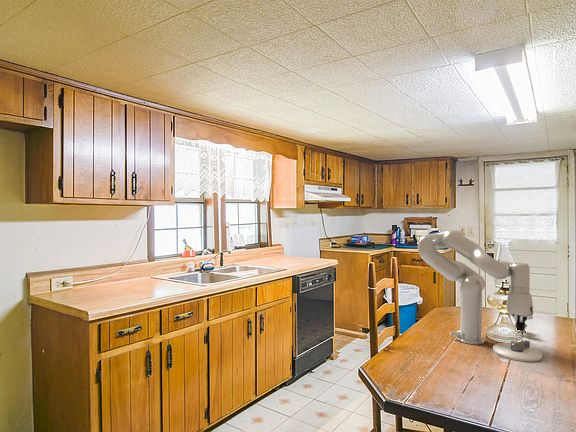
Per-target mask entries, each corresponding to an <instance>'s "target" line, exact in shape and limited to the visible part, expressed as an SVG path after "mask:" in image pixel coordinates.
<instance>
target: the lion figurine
mask: <svg viewBox="0 0 576 432" xmlns="http://www.w3.org/2000/svg"><path fill="white" fill-rule="evenodd" d="M514 327H516V322H515V324H514ZM527 327H528V324H526V323H525V328H524V330H521V331H520V334H521V333H522V335H523V336H522V337H525V336H524V333H526V329H527ZM516 328H517V327H516ZM516 328H515V329H516Z"/></svg>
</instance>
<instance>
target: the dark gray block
mask: <svg viewBox="0 0 576 432" xmlns="http://www.w3.org/2000/svg"><path fill="white" fill-rule="evenodd" d="M510 343H511V350H513V351H516V352H523V349H527V348H530V347H531V346H530V345H531V341H530V340H526V339H525V340H522V341H513V340H512V341H510Z"/></svg>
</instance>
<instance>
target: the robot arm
mask: <svg viewBox="0 0 576 432" xmlns="http://www.w3.org/2000/svg"><path fill="white" fill-rule="evenodd" d="M445 248H446V249H447V248H449V249H451V250H453V251H454V252H456V253H457V254H459V255H461V256H462V257H464V258H466V259H467V260H469V261H470V262H471V263H472V264H473V265H475V266H476V267H477V268H479V269H480V270H481V271H483V272H484V273H486V274H488V275H489V276H491V277H492V278H494V279H495V280H496V279H497V280H505V279H507V277H509V278H510V285H508V289H509V290H510V291H509V292H508V295H507V300H506V311H507V312H508V315H509V316H512V317H513V318H514V321H515V323H516V327H517V330H520V331H519V332H521V330H524V328H525V324H526V321H528V320H533V315H534V303H533V298H532V294H531V291H530V289H531V288H530V287H531V286H530V285H531V283H530V282H531V281H530V280H531V279H530V278H531V277H530V275H531V274H530V273H531V271H530V270H531V269H530V268H531V267H530V265H529V263H526V262H525V263H524V262H509V261H505V260H500V261H498V260H497V259H495V258H493V257H492V256H490V255H489V254H488V253H486V252H485V250H484V249H483V247H482V246H481V245H479V244H477V243H476V242H474V241H473V240H471V239H469V238H468V237H466V236H464V234H463V232H461V231H460V230H457V229H453V230H452V229H451V230H447V231H441V232H440V231H439V232H435V233H429V234H423V236H421V237H420V238H419V239H418V242H417V252H418V255H419V257H420V258H421V259H422V261H424V262H425V263H426V264H427V265H428V266H430V267H431V268H432V269H434V270H435V271H436V272H438V273H439V274H440V275H442V276H443V277H444V278H445V279H446V280H448V281H450V282H458V283H459V284H460V289H459V291H460V321H459V322H460V324H459V325H460V327H459V328H458V330H456V331H451V330H450V331H449V335H450V336H454V337H456V340H457V341H459V342H461V343H463V344H468V345H469V344H470V345H475V346H476V345H477V346H478V345H483V344H485V343H486V340H485V338H484V337H482V331H483V330H482V329H483V327H482V325H483V291H484V290H485V287H486V281H485V279H484V277H483V276H482V275H480V273H477V272H476V271H475V270H474V269H472V268H471V267H470V266H468V265H466V263H463V262H462V261H459V260H451V259H450V258H448V257H447V256H446V255H445V254H443V253H442V252H440V251H438V249H445ZM525 329H526V328H525Z"/></svg>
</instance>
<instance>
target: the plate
mask: <svg viewBox="0 0 576 432" xmlns="http://www.w3.org/2000/svg"><path fill="white" fill-rule="evenodd" d="M492 351H493V353H495V354H496V355H498V356H500V357H503V358H505V359H508V360H512V361H516V362H524V363H526V362H527V363H533V362H535V363H537V362H539V361H541V360H542V359H543V354H542V352H541V351H540V350H537V349H536V348H534V347H531V346H530V348H527V349H523V352H516V351H513V350H511V342H510V343H509V342H501V343H500V342H499V343H495V344H493V346H492Z"/></svg>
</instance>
